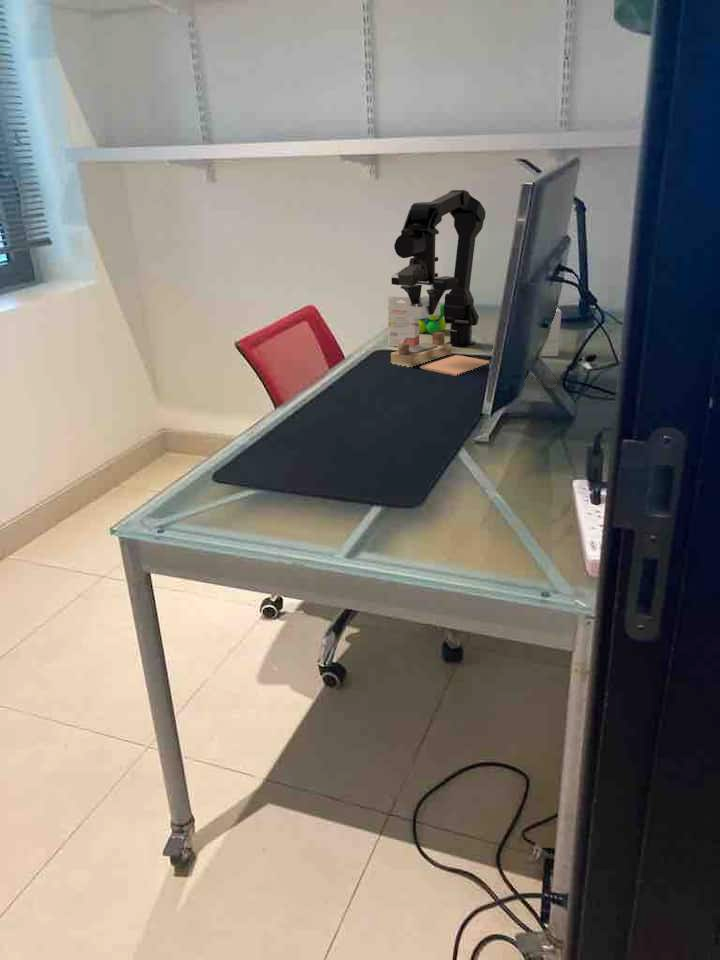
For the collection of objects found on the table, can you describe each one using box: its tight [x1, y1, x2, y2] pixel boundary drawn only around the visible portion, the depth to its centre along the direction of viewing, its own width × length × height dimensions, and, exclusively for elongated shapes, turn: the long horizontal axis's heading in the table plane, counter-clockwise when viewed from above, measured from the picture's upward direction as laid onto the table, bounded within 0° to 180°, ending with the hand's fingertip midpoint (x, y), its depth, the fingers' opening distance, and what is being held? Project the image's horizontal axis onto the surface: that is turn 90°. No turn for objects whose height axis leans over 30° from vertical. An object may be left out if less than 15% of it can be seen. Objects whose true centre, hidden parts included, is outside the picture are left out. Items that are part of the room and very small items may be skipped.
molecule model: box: [419, 303, 447, 335], centre depth 243 cm, size 9×9×9 cm
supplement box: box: [541, 306, 562, 357], centre depth 212 cm, size 7×7×13 cm
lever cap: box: [407, 295, 441, 319], centre depth 205 cm, size 8×5×4 cm, turn 136°
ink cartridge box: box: [387, 295, 420, 347], centre depth 226 cm, size 9×5×15 cm, turn 68°
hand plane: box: [390, 331, 452, 368], centre depth 211 cm, size 18×7×6 cm, turn 137°
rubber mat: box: [419, 354, 490, 377], centre depth 205 cm, size 16×12×1 cm
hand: (423, 313), depth 206 cm, fingers closed on lever cap, 5 cm apart
